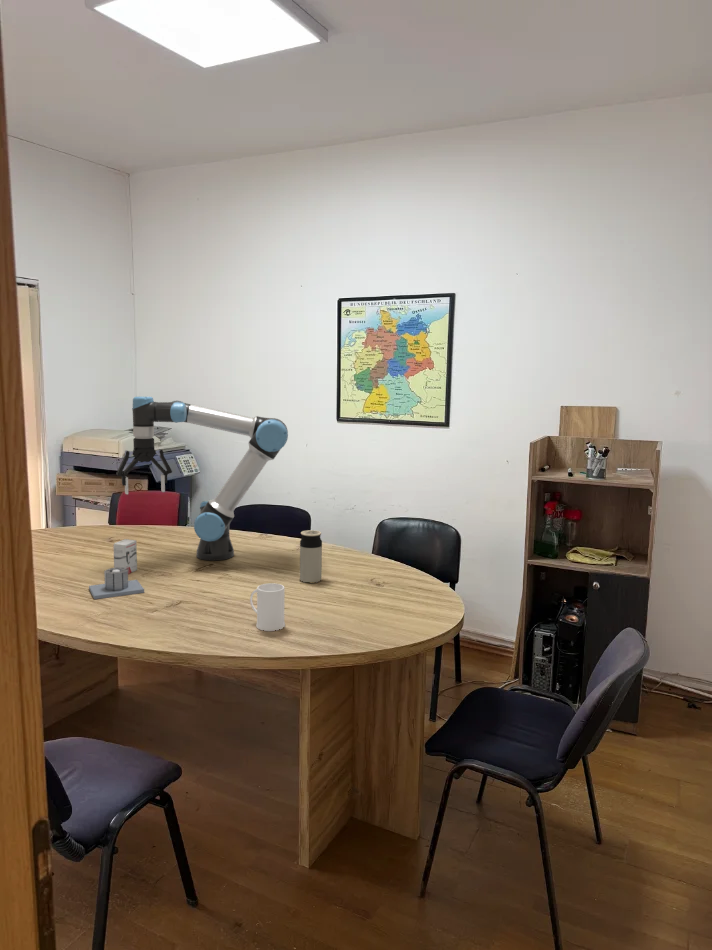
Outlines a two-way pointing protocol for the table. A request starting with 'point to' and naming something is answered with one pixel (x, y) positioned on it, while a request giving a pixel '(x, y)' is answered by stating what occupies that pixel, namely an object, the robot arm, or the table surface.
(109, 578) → the cylinder
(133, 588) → the shaft stand
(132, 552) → the ink box
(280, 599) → the mug
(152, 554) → the table surface
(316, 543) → the travel mug
